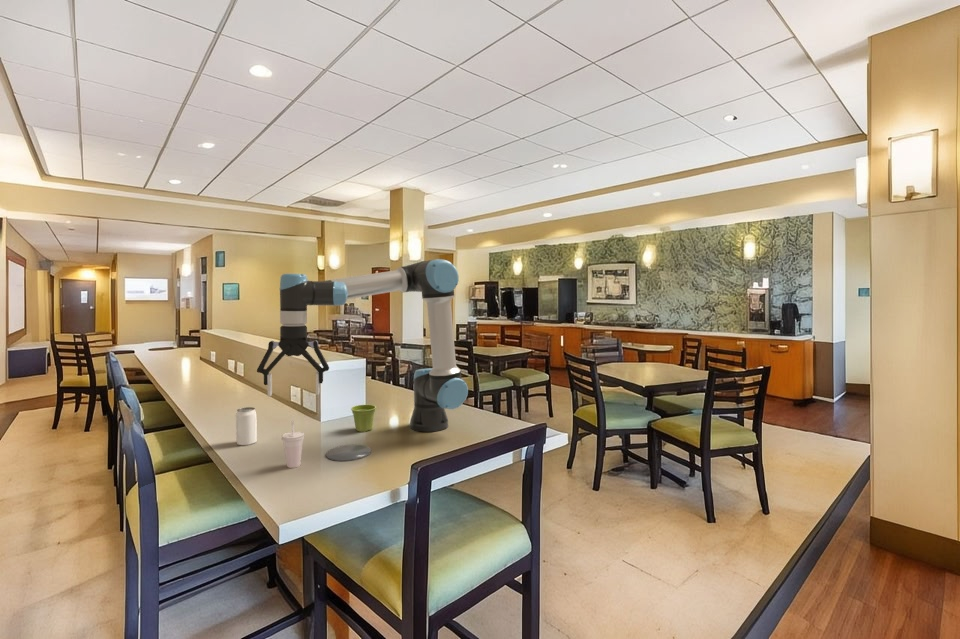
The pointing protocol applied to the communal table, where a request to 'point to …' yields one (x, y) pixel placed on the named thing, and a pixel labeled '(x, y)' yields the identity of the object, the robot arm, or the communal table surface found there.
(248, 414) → the can
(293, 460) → the smoothie
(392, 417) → the communal table surface
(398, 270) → the robot arm
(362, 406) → the plant pot
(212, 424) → the communal table surface
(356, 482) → the communal table surface
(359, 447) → the disc
